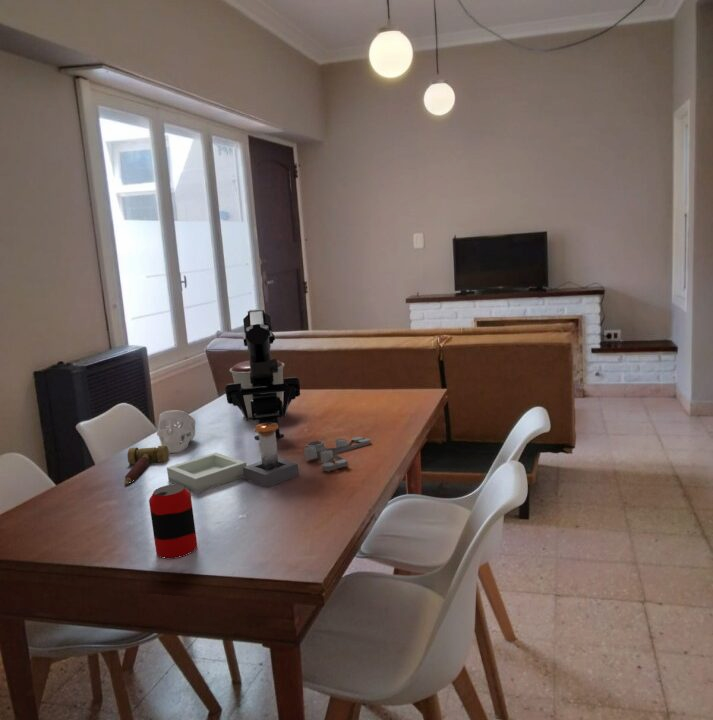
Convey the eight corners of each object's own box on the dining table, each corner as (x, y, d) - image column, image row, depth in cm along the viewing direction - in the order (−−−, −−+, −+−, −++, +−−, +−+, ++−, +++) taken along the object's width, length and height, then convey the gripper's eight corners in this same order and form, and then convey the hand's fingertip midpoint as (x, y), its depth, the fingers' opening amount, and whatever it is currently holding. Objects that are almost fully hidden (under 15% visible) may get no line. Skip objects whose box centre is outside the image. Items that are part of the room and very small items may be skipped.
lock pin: (255, 478, 165) (249, 426, 163) (274, 471, 169) (268, 421, 167) (269, 483, 161) (263, 430, 159) (287, 476, 165) (282, 424, 163)
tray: (168, 481, 169) (166, 467, 168) (217, 465, 178) (216, 452, 177) (197, 493, 158) (195, 479, 158) (247, 475, 168) (245, 462, 167)
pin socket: (244, 479, 166) (243, 467, 165) (276, 468, 172) (274, 456, 171) (267, 487, 159) (265, 475, 158) (299, 475, 165) (297, 463, 164)
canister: (242, 425, 216) (235, 360, 212) (229, 414, 233) (222, 353, 229) (296, 415, 223) (290, 352, 219) (280, 405, 239) (274, 346, 236)
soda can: (147, 557, 127) (139, 496, 125) (172, 539, 134) (164, 481, 132) (182, 561, 124) (173, 498, 122) (205, 543, 131) (197, 483, 129)
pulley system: (286, 476, 168) (343, 474, 164) (283, 457, 168) (340, 455, 163) (324, 446, 194) (374, 443, 189) (322, 429, 194) (372, 427, 189)
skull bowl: (149, 452, 190) (151, 410, 194) (164, 464, 203) (166, 425, 207) (186, 449, 189) (187, 407, 194) (200, 461, 202) (200, 422, 207)
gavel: (144, 473, 167) (104, 476, 167) (147, 490, 168) (107, 493, 168) (167, 442, 187) (131, 445, 187) (169, 458, 188) (134, 461, 189)
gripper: (221, 353, 171) (224, 405, 162) (295, 345, 173) (302, 396, 165) (226, 377, 180) (229, 428, 171) (296, 370, 182) (303, 420, 174)
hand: (265, 418), depth 170 cm, fingers open, 9 cm apart
